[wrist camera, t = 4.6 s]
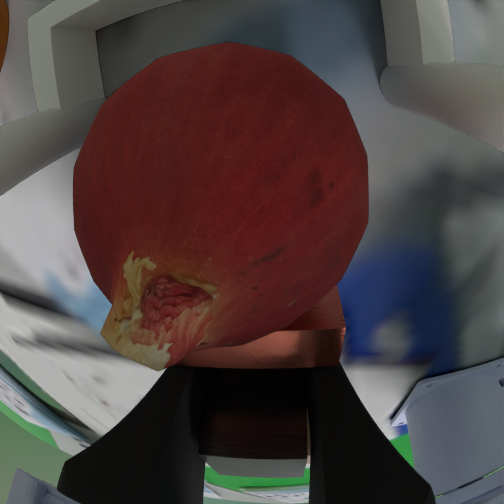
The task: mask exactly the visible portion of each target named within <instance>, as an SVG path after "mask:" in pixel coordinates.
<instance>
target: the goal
mask: <svg viewBox="0 0 504 504" xmlns="http://www.w3.org/2000/svg"><path fill="white" fill-rule="evenodd" d="M179 1H183V0H55V1H53V2H52V3H50V4H49V5H47V6H46V7H44V8H43V9H41V10H40V11H38V12H37V13H35V14H34V15H33V16H31V17H30V18H28V19H27V24H28V45H29V57H30V66H31V74H32V82H33V88H34V95H35V100H36V106H37V111H38V112H37V113H34V114H31V115H28V116H26V117H23V118H20V119H17V120H15V121H12V122H10V123H7V124H5V125H2V126H0V196H1V195H3V194H4V193H6V192H7V191H8V190H10V189H11V188H13V187H14V186H16V185H17V184H19V183H20V182H22V181H23V180H25V179H26V178H28V177H29V176H31V175H33V174H34V173H36V172H37V171H39V170H41V169H42V168H44V167H46V166H47V165H49V164H51V163H53V162H54V161H56V160H58V159H60V158H62V157H63V156H65V155H67V154H69V153H71V152H73V151H74V150H76V149H78V148H80V147H82V145H83V143H84V141H85V138H86V136H87V134H88V132H89V130H90V127H91V125H92V123H93V121H94V119H95V117H96V115H97V113H98V111H99V109H100V107H101V105H102V104H103V103H104V102H105V101H106V100H107V98H105V96H104V90H103V84H102V78H101V72H100V65H99V58H98V50H97V42H96V32H95V31H96V30H98V29H100V28H103V27H105V26H107V25H110V24H112V23H115V22H117V21H120V20H122V19H125V18H128V17H130V16H133V15H136V14H139V13H142V12H145V11H148V10H151V9H154V8H157V7H161V6H164V5H168V4H171V3H175V2H179ZM380 3H381V9H382V16H383V24H384V32H385V42H386V53H387V67H386V68H385V69H384V70H383V71H382V74H381V77H380V88H381V91H382V94H383V96H384V97H385V99H386V100H387V101H388V102H389V103H390V104H392V105H393V106H395V107H398V108H401V109H404V110H407V111H410V112H413V113H415V114H418V115H421V116H424V117H426V118H429V119H432V120H434V121H437V122H439V123H442V124H444V125H447V126H449V127H451V128H454V129H456V130H458V131H460V132H463V133H465V134H467V135H469V136H471V137H473V138H476V139H478V140H480V141H482V142H484V143H486V144H488V145H490V146H491V147H493V148H495V149H497V150H499V151H501V152H503V153H504V67H501V66H493V65H484V64H474V63H459V62H455V61H454V47H453V37H452V28H451V21H450V14H449V8H448V2H447V0H380Z"/></svg>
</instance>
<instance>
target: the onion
mask: <svg viewBox="0 0 504 504" xmlns="http://www.w3.org/2000/svg"><path fill="white" fill-rule="evenodd" d="M73 213H74V230H75V234H76V237H77V240H78V243H79V246H80V249H81V251H82V254H83V256H84V259H85V261H86V264H87V266H88V269H89V271H90V274H91V276H92V278H93V281H94V282H95V284H96V285H97V286H98V287H99V289H100V290H101V291H102V293H103V294H104V295H105V296H106V298H107V299H108V300H109V301H110V303H111V304H112V307H111V310H110V312H109V314H108V316H107V319H106V321H105V323H104V325H103V328H102V330H101V332H100V334H101V335H102V337H103V338H104V339H105V340H106V342H107V343H108V344H109V345H110V346H111V348H112V349H113V350H115V351H117V352H118V353H120V354H122V355H123V356H125V357H127V358H129V359H131V360H133V361H135V362H137V363H139V364H142V365H144V366H146V367H149V368H151V369H153V370H156V371H161V370H163V369H165V368H167V367H169V366H172V365H174V364H176V363H178V362H179V361H180V360H181V359H182V358H183V357H185V356H186V355H187V354H188V353H190V352H196V351H201V350H206V349H211V348H220V347H233V346H240V345H245V344H247V343H250V342H252V341H255V340H257V339H259V338H262V337H264V336H267V335H269V334H271V333H274V332H276V331H278V330H281V329H283V328H285V327H287V326H288V325H289V324H291V323H292V322H293V321H294V320H296V319H297V318H298V317H299V316H301V315H302V314H303V313H304V312H306V311H307V310H308V309H309V308H311V307H312V306H313V305H314V304H315V303H317V302H318V301H319V300H320V299H321V298H323V297H324V296H325V295H326V294H327V293H329V292H330V291H331V290H332V289H333V288H334V287H335V286H336V285H337V283H338V282H339V281H340V280H341V279H342V277H343V275H344V273H345V271H346V269H347V267H348V265H349V263H350V261H351V259H352V257H353V255H354V253H355V251H356V249H357V247H358V245H359V243H360V241H361V239H362V237H363V234H364V232H365V229H366V227H367V224H368V217H369V193H368V162H367V154H366V151H365V148H364V146H363V143H362V141H361V138H360V135H359V133H358V130H357V128H356V125H355V123H354V120H353V118H352V116H351V113H350V111H349V109H348V106H347V104H346V102H345V100H344V98H342V97H341V96H340V95H339V94H338V93H337V92H336V91H335V90H333V89H332V88H331V87H330V86H329V85H328V84H326V83H325V82H324V81H323V80H322V79H320V78H319V77H318V76H317V75H316V74H314V73H313V72H312V71H311V70H309V69H308V68H307V67H306V66H304V65H303V64H302V63H300V62H299V61H298V60H296V59H295V58H294V57H292V56H291V55H287V54H284V53H280V52H276V51H272V50H268V49H264V48H259V47H255V46H250V45H245V44H240V43H234V42H225V43H219V44H214V45H209V46H204V47H199V48H194V49H190V50H186V51H182V52H178V53H174V54H170V55H167V56H164V57H160V58H158V59H156V60H155V61H153V62H152V63H151V64H149V65H148V66H147V67H145V68H144V69H142V70H141V71H140V72H138V73H137V74H136V75H135V76H133V77H132V78H131V79H129V80H128V81H127V82H126V83H124V84H123V85H122V86H121V87H119V88H118V89H117V90H116V91H115V92H113V93H112V94H111V95H110V97H109V98H108V99H107V100H106V101H105V102H104V103H103V104H102V105H101V107H100V109H99V111H98V113H97V115H96V117H95V119H94V121H93V123H92V125H91V127H90V130H89V132H88V134H87V136H86V138H85V141H84V143H83V145H82V148H81V150H80V152H79V155H78V158H77V161H76V163H75V166H74V174H73Z"/></svg>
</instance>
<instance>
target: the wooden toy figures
mask: <svg viewBox="0 0 504 504" xmlns="http://www.w3.org/2000/svg"><path fill="white" fill-rule="evenodd" d="M8 32H9V14H8V8H7V5H6V3H5V1H4V0H0V72H1V68H2V65H3V61H4V57H5V52H6V47H7V41H8Z"/></svg>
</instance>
